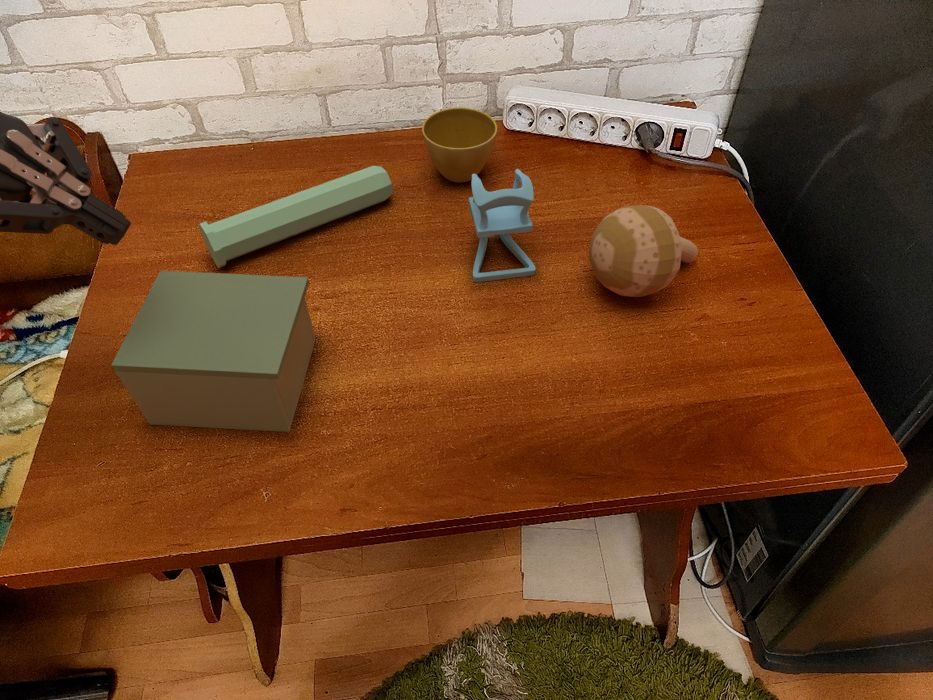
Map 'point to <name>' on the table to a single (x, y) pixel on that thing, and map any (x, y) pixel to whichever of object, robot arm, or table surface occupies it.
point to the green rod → (295, 214)
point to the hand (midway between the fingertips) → (123, 234)
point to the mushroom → (638, 250)
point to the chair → (502, 223)
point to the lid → (214, 325)
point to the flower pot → (459, 141)
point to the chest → (227, 392)
